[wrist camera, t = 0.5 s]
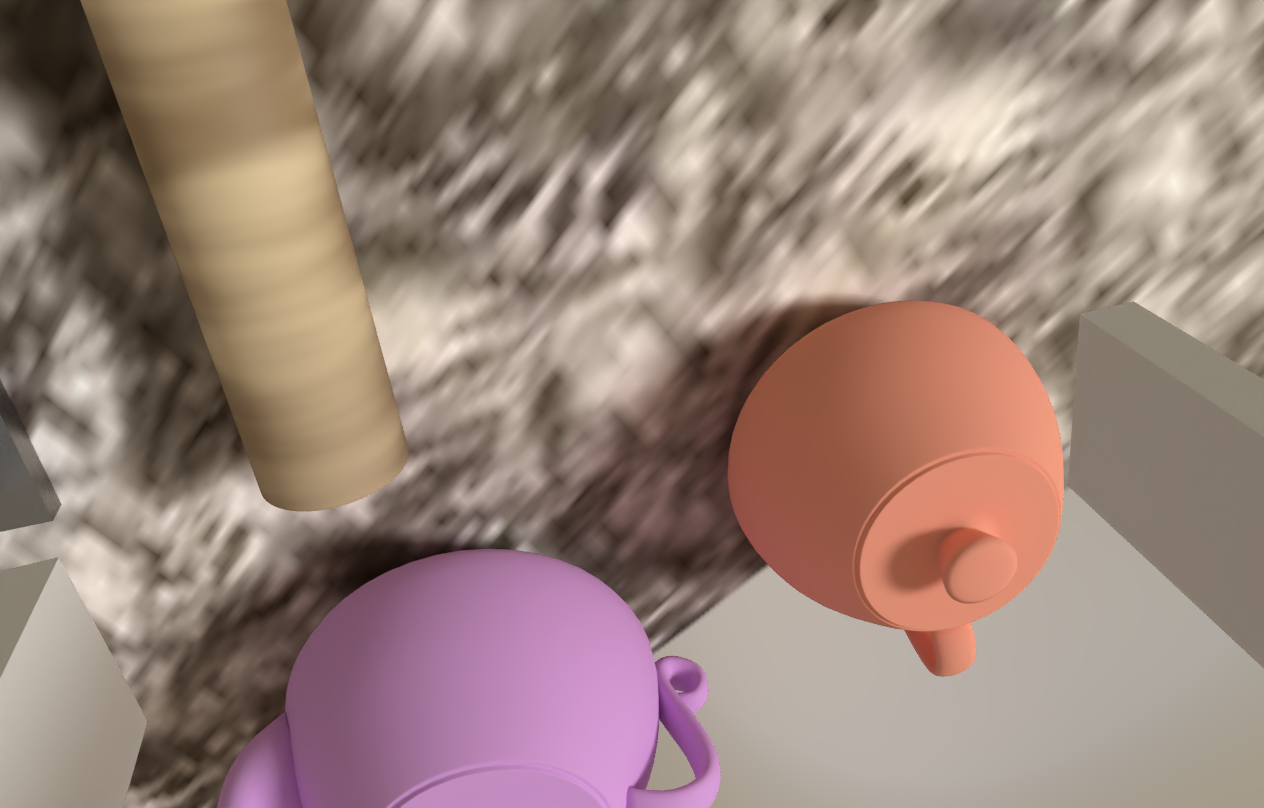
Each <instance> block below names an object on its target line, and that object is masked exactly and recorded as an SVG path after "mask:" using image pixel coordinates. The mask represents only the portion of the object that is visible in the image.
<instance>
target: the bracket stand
mask: <svg viewBox="0 0 1264 808" xmlns="http://www.w3.org/2000/svg"><path fill="white" fill-rule="evenodd" d="M60 506H61V503H60V501H59V499H58V497H57V495H56V493H55V491H54V489H53V487H52V485H51V483H50V480H49V478H48V476H47V474H46V472H45V470H44V468H43V466H42V464H41V462H40V460H39V458H38V456H37V454H36V452H35V450H34V448H33V446H32V444H31V442H30V440H29V438H28V436H27V433H26V431H25V429H24V427H23V425H22V423H21V421H20V419H19V417H18V415H17V413H16V411H15V409H14V407H13V405H12V403H11V401H10V399H9V397H8V395H7V393H6V391H5V389H4V386H3V384H2V382H1V380H0V532H1V531H6V530H11V529H15V528H20V527H25V526H30V525H35V524H40V523H44V522H49V521H53V520H54V518H55V516H56V514H57V512H58V510H59V508H60Z"/></svg>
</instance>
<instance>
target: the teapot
mask: <svg viewBox="0 0 1264 808" xmlns="http://www.w3.org/2000/svg"><path fill="white" fill-rule="evenodd" d="M675 690H679V691H683V693H677V692H676V691H675ZM708 692H709V689H708V680H707V677H706V674H705V672H704V671H703V669H702V668H701V667H700V666H699V665H698V664H697V663H695V662H693V661H691V660H688V659H686V658H682V657H678V656H666V657H663V658H660V659H659V660H658V661H656V662H655V663H654V659H653V655H652V651H651V647H650V643H649V640H648V638H647V635H646V633H645V631H644V629H643V627H642V624H641V623H640V621H639V620H638V618H637V617H636V615H635V614H634V613H633V611H632V610H631V608H630V607H629V606H628V605H627V604H626V603H625V602H624V601H623V600H622V599H621V598H620V597H619V596H618V595H617V594H616V593H615V592H614V591H613V590H612V589H611V588H609V587H608V586H607V585H605V584H604V583H603V582H602V581H600V580H599V579H598V578H596V577H595V576H593V575H591V574H589V573H587V572H586V571H584V570H582V569H580V568H579V567H576V566H574V565H571V564H569V563H566V562H564V561H561V560H559V559H555V558H552V557H548V556H544V555H540V554H537V553H530V552H523V551H517V550H505V549H476V550H462V551H456V552H450V553H444V554H439V555H434V556H431V557H427V558H424V559H420V560H417V561H413V562H410V563H408V564H405V565H403V566H400V567H398V568H396V569H393V570H391V571H388V572H386V573H384V574H382V575H380V576H378V577H377V578H375V579H373V580H371V581H369V582H367V583H366V584H364V585H363V586H361V587H360V588H358V589H357V590H355V591H354V592H353V593H351V594H350V595H348V596H347V597H346V598H344V599H343V600H342V601H341V602H340V603H339V604H338V605H337V606H336V607H334V608H333V609H332V610H331V611H330V612H329V613H328V614H327V615H326V617H325V618H324V619H323V620H322V621H321V622H320V624H319V625H318V626H317V627H316V628H315V630H314V631H313V632H312V634H311V635H310V637H309V638H308V640H307V642H306V643H305V645H304V646H303V648H302V650H301V651H300V653H299V655H298V657H297V659H296V662H295V664H294V666H293V669H292V671H291V674H290V678H289V683H288V687H287V691H286V704H285V712H284V713H282V714H281V715H280V716H279V717H278V718H276V719H275V720H274V721H273V722H272V723H270V724H269V725H268V726H267V727H266V728H264V729H263V730H262V731H261V732H260V733H258V734H257V735H256V736H255V737H254V738H253V739H252V740H251V741H250V742H249V743H248V744H247V746H246V747H245V748H244V749H243V750H242V751H241V752H240V753H239V754H238V756H237V758H236V759H235V761H234V763H233V764H232V766H231V768H230V769H229V771H228V773H227V776H226V778H225V781H224V784H223V787H222V789H221V792H220V796H219V800H218V804H217V808H709V807H710V806H711V805H712V803H713V801H714V799H715V797H716V795H717V793H718V789H719V785H720V773H721V771H720V763H719V759H718V755H717V752H716V750H715V747H714V745H713V743H712V741H711V739H710V738H709V736H708V734H707V733H706V731H705V730H704V728H703V727H702V725H701V724H700V722H699V721H698V720H697V718H696V717H695V716H694V714H693V713H695V712H697V711H698V710H699V709H701V708H702V706H703V705H704V703H705V701H706V698H707V696H708ZM659 719H660V721H661V722H662V724H663V725H664V726H665V728H666V729H667V731H668V732H669V733H670V734H671V736H672V737H673V739H674V740H675V741H676V743H677V744H678V746H679V747H680V748H681V750H682V751H683V753H684V754H685V756H686V757H687V759H688V761H689V763H690V765H691V767H692V769H693V771H694V774H695V777H696V779H695V780H694V781H692V782H691V783H689V784H687V785H685V786H682V787H679V788H676V789H671V790H664V791H657V790H656V791H655V790H646V787H647V784H648V781H649V778H650V774H651V771H652V767H653V763H654V758H655V753H656V747H657V740H658V730H659Z"/></svg>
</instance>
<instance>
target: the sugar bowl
mask: <svg viewBox="0 0 1264 808" xmlns="http://www.w3.org/2000/svg"><path fill="white" fill-rule="evenodd" d="M728 486H729V495H730V499H731V503H732V507H733V511H734V513H735V515H736V518H737V520H738V522H739V524H740V527H741V528H742V530H743V532H744V533H745V535H746V537H747V538H748V540H749V541H750V543H751V544H752V546H753V547H754V549H755V551H756V552H757V553H758V554H759V555H760V556H761V557H762V558H763V559H764V560H765V562H766V563H767V564H768V565H769V566H770V567H771V568H772V569H773V570H774V571H775V572H776V573H777V574H778V575H779V576H780V577H782V578H783V579H784V580H785V581H786V582H787V583H789V584H790V585H791V586H792V587H794V588H795V589H796V590H798V591H799V592H801V593H802V594H804V595H805V596H807V597H809V598H810V599H812V600H814V601H816V602H817V603H819V604H821V605H823V606H825V607H827V608H830V609H832V610H835V611H837V612H839V613H842V614H845V615H848V616H850V617H853V618H856V619H860V620H863V621H867V622H871V623H874V624H878V625H882V626H886V627H890V628H895V629H903V630H905V632H906V634H907V636H908V638H909V640H910V641H911V643H912V645H913V647H914V649H915V650H916V652H917V654H918V655H919V657H920V658H921V660H922V662H923V663H924V665H925V666H926V667H927V669H928V670H929V671H930V672H932V673H933V674H934V675H936V676H952V675H955V674H958V673H961V672H963V671H964V670H966V669H967V668H969V667H970V666H971V665H972V664H973V662H974V660H975V656H976V643H975V637H974V632H973V628H972V624H971V622H973V621H976V620H978V619H980V618H982V617H985V616H987V615H989V614H990V613H992V612H994V611H996V610H997V609H999V608H1001V607H1002V606H1004V605H1005V604H1007V603H1008V602H1009V601H1010V600H1012V599H1013V598H1014V597H1016V596H1017V595H1018V594H1019V593H1020V592H1021V591H1022V590H1024V588H1026V587H1027V586H1028V584H1030V582H1031V581H1032V580H1033V579H1034V578H1035V576H1036V575H1037V574H1038V573H1039V572H1040V570H1041V569H1042V567H1043V565H1044V564H1045V562H1046V561H1047V559H1048V557H1049V555H1050V553H1051V552H1052V550H1053V547H1054V545H1055V542H1056V540H1057V536H1058V532H1059V528H1060V523H1061V517H1062V509H1063V500H1064V476H1063V452H1062V445H1061V438H1060V433H1059V428H1058V423H1057V420H1056V416H1055V413H1054V410H1053V407H1052V405H1051V402H1050V400H1049V397H1048V394H1047V392H1046V390H1045V388H1044V386H1043V385H1042V383H1041V381H1040V379H1039V377H1038V376H1037V374H1036V372H1035V371H1034V369H1033V367H1032V366H1031V364H1030V363H1029V361H1028V360H1027V359H1026V357H1025V356H1024V354H1023V353H1022V352H1021V351H1020V350H1019V349H1018V347H1017V346H1016V345H1015V344H1014V343H1013V342H1012V341H1011V340H1010V339H1009V338H1008V337H1007V336H1006V335H1005V334H1004V333H1003V332H1001V331H1000V330H999V329H998V328H997V327H995V326H994V325H993V324H992V323H990V322H989V321H987V320H986V319H984V318H982V317H980V316H979V315H977V314H975V313H973V312H971V311H968V310H965V309H962V308H960V307H957V306H953V305H948V304H943V303H938V302H929V301H912V300H910V301H897V302H887V303H882V304H877V305H873V306H868V307H865V308H862V309H859V310H856V311H853V312H849V313H846V314H844V315H842V316H840V317H838V318H835V319H833V320H831V321H829V322H827V323H825V324H823V325H822V326H820V327H818V328H817V329H815V330H813V331H812V332H810V333H808V334H807V335H805V336H804V337H803V338H801V339H800V340H799V341H797V342H796V343H795V344H794V345H792V346H791V347H790V348H788V349H787V350H786V351H785V352H784V353H783V354H782V355H781V356H780V357H779V358H778V359H777V360H776V361H775V362H774V363H773V364H772V365H771V366H770V367H769V369H768V370H767V371H766V372H765V373H764V375H763V376H762V377H761V378H760V379H759V381H758V383H757V384H756V386H755V387H754V389H753V390H752V392H751V393H750V395H749V396H748V398H747V400H746V402H745V404H744V406H743V408H742V410H741V412H740V414H739V417H738V420H737V423H736V425H735V428H734V431H733V435H732V440H731V445H730V449H729V460H728Z"/></svg>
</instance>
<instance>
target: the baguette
mask: <svg viewBox="0 0 1264 808" xmlns="http://www.w3.org/2000/svg"><path fill="white" fill-rule="evenodd" d="M80 1H81V4H82V6H83V9H84V12H85V14H86V17H87V20H88V23H89V25H90V28H91V31H92V33H93V36H94V39H95V42H96V44H97V47H98V50H99V53H100V55H101V58H102V61H103V63H104V66H105V69H106V72H107V74H108V77H109V80H110V83H111V85H112V88H113V91H114V93H115V96H116V99H117V102H118V104H119V107H120V110H121V112H122V115H123V118H124V121H125V123H126V126H127V129H128V132H129V134H130V137H131V140H132V142H133V145H134V148H135V151H136V153H137V156H138V159H139V161H140V164H141V167H142V170H143V172H144V175H145V178H146V181H147V183H148V186H149V189H150V191H151V194H152V197H153V200H154V202H155V205H156V208H157V210H158V213H159V216H160V219H161V221H162V224H163V227H164V230H165V232H166V235H167V238H168V240H169V243H170V246H171V249H172V251H173V254H174V257H175V260H176V262H177V265H178V268H179V270H180V273H181V276H182V279H183V281H184V284H185V287H186V289H187V292H188V295H189V298H190V300H191V303H192V306H193V309H194V311H195V314H196V317H197V319H198V322H199V325H200V328H201V330H202V333H203V336H204V338H205V341H206V344H207V347H208V349H209V352H210V355H211V358H212V360H213V363H214V366H215V368H216V371H217V374H218V377H219V379H220V382H221V385H222V387H223V390H224V393H225V396H226V398H227V401H228V404H229V407H230V409H231V412H232V415H233V417H234V420H235V423H236V426H237V428H238V431H239V434H240V437H241V439H242V442H243V445H244V447H245V450H246V453H247V456H248V458H249V461H250V464H251V466H252V469H253V472H254V475H255V477H256V480H257V483H258V486H259V488H260V491H261V493H262V496H263V497H264V499H265V500H266V501H267V502H269V503H270V504H271V505H273V506H276V507H278V508H281V509H285V510H290V511H318V510H325V509H330V508H335V507H339V506H342V505H346V504H349V503H352V502H354V501H357V500H360V499H362V498H364V497H366V496H368V495H370V494H372V493H374V492H376V491H378V490H379V489H381V488H382V487H384V486H385V485H387V484H388V483H389V482H390V481H392V480H393V479H394V478H395V477H396V476H397V475H398V474H399V473H400V472H401V470H402V469H403V468H404V466H405V464H406V462H407V459H408V454H409V451H408V446H407V442H406V438H405V435H404V431H403V427H402V424H401V420H400V416H399V413H398V409H397V405H396V402H395V398H394V394H393V391H392V387H391V383H390V380H389V376H388V372H387V369H386V365H385V361H384V358H383V354H382V350H381V347H380V343H379V339H378V336H377V332H376V328H375V325H374V321H373V317H372V314H371V310H370V306H369V303H368V299H367V295H366V292H365V288H364V284H363V281H362V277H361V273H360V270H359V266H358V262H357V259H356V255H355V251H354V248H353V244H352V240H351V237H350V233H349V229H348V226H347V222H346V218H345V215H344V211H343V207H342V204H341V200H340V196H339V193H338V189H337V185H336V182H335V178H334V174H333V171H332V167H331V163H330V160H329V156H328V152H327V149H326V145H325V141H324V138H323V134H322V130H321V127H320V123H319V119H318V116H317V112H316V108H315V105H314V101H313V97H312V94H311V90H310V86H309V83H308V79H307V75H306V72H305V68H304V64H303V61H302V57H301V53H300V50H299V46H298V43H297V39H296V35H295V32H294V28H293V24H292V21H291V17H290V13H289V10H288V6H287V2H286V0H80Z"/></svg>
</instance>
